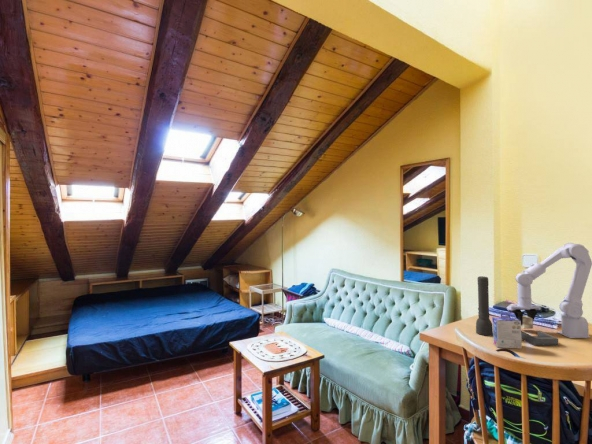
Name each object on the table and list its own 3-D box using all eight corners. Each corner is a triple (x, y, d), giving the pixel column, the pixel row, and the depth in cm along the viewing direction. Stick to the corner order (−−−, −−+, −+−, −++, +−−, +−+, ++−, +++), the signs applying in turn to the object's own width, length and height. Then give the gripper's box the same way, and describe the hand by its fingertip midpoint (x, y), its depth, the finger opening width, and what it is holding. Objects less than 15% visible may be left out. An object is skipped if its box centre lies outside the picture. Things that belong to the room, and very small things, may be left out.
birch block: (526, 325, 161) (526, 315, 161) (532, 328, 157) (532, 318, 157) (517, 325, 161) (517, 316, 161) (523, 328, 157) (523, 318, 157)
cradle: (540, 337, 150) (540, 330, 150) (558, 345, 140) (558, 338, 140) (518, 337, 150) (518, 330, 150) (534, 345, 140) (534, 338, 140)
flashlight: (481, 330, 161) (473, 332, 158) (480, 275, 161) (471, 276, 158) (495, 334, 155) (487, 337, 152) (494, 277, 155) (485, 278, 152)
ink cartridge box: (516, 344, 142) (515, 312, 142) (522, 349, 137) (521, 315, 137) (492, 343, 144) (491, 311, 144) (497, 347, 139) (496, 314, 139)
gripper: (533, 295, 163) (534, 321, 163) (504, 295, 163) (505, 322, 163) (543, 298, 156) (544, 325, 156) (513, 298, 156) (514, 326, 156)
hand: (525, 324), depth 159 cm, fingers closed on birch block, 4 cm apart
